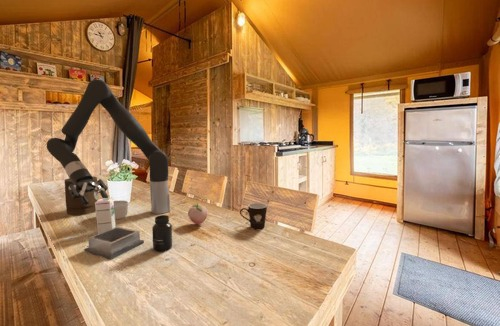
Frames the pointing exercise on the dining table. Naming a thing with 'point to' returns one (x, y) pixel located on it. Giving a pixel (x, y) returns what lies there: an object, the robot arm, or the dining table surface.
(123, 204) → the ramekin
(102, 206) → the syrup box
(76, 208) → the wooden container
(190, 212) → the decorative fruit
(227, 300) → the dining table surface
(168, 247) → the supplement bottle
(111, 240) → the collar
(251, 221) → the coffee mug
